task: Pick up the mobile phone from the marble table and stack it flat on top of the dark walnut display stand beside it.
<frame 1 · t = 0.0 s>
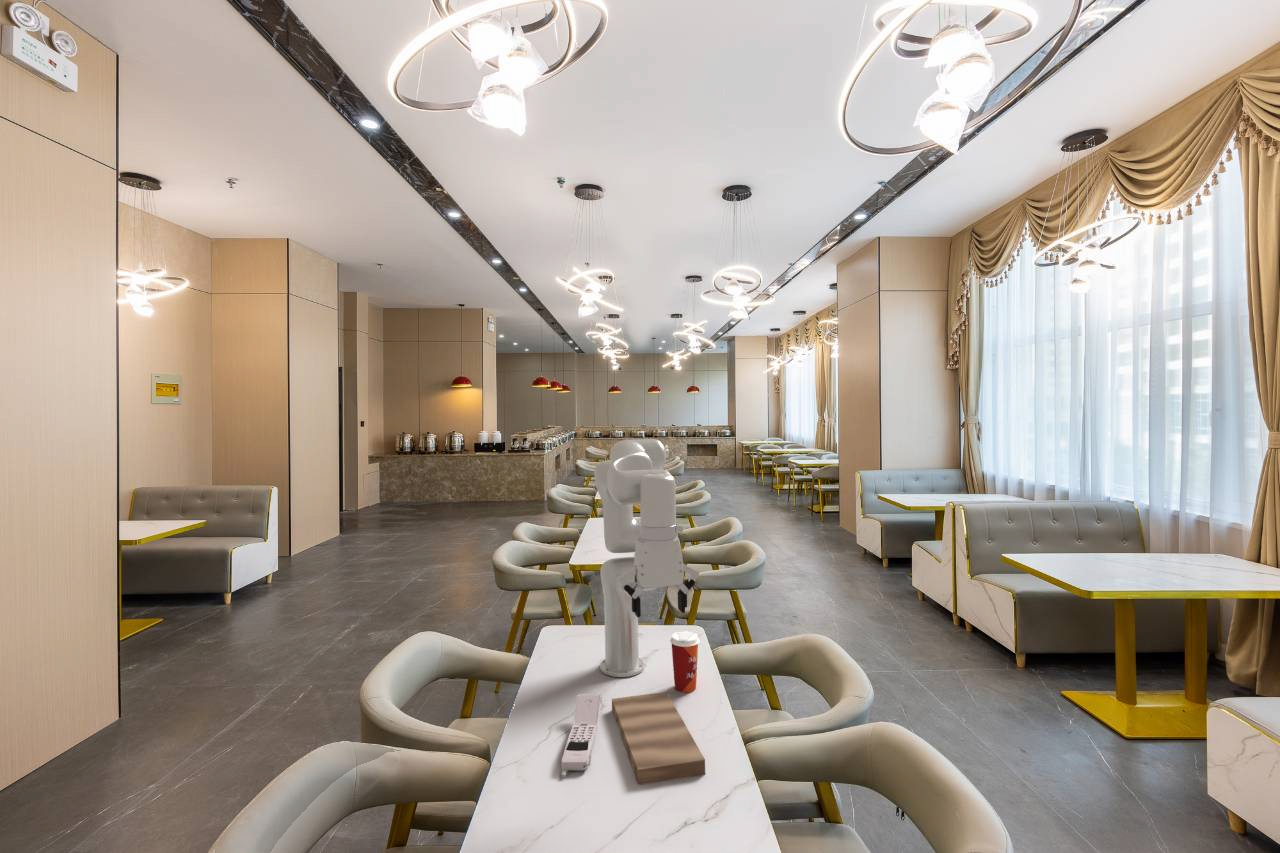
hand: (659, 613, 129), 31 cm above the table, tool pointing down, fingers open, 9 cm apart
paper cup: (685, 688, 162), on the table
walnut stand: (654, 739, 137), on the table
mobile phone: (582, 746, 136), on the table
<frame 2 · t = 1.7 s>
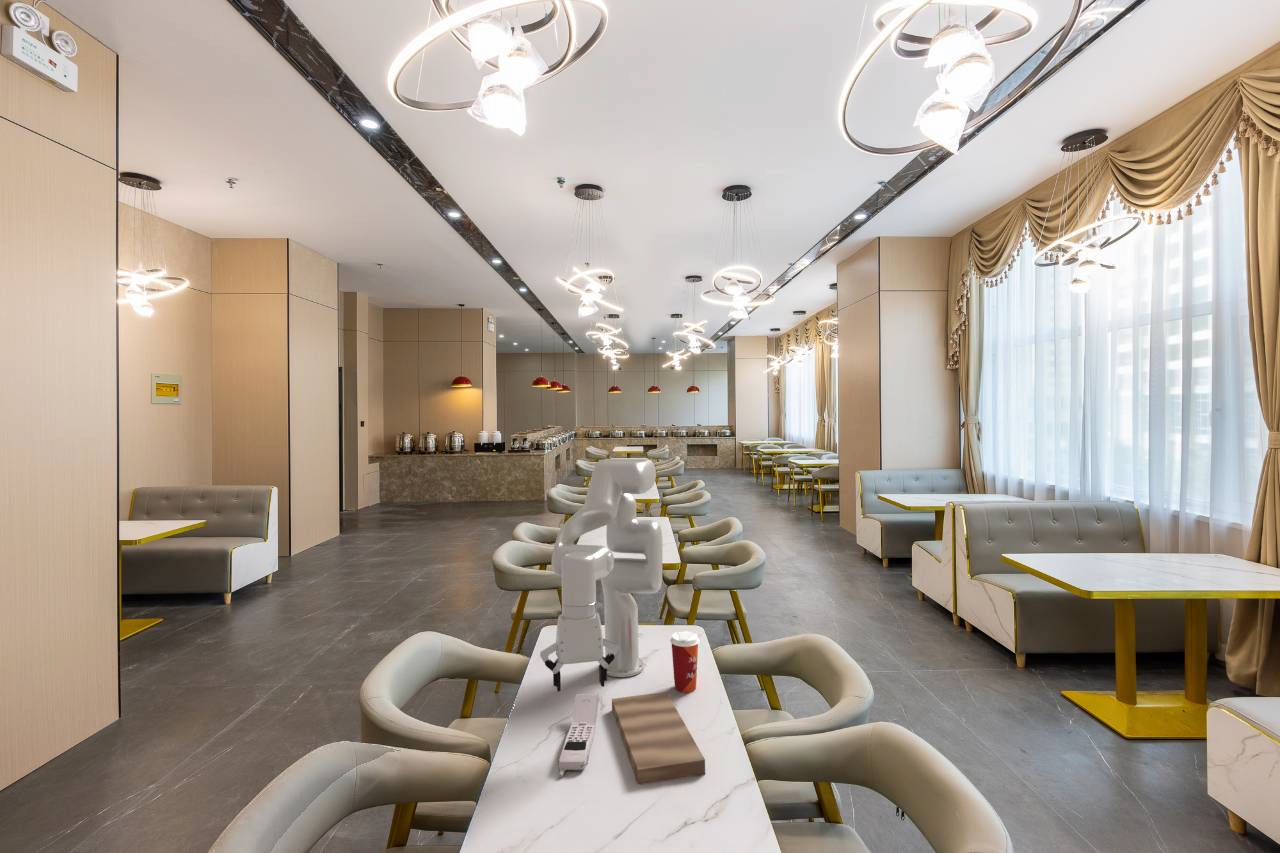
hand: (580, 686, 135), 13 cm above the table, tool pointing down, fingers open, 9 cm apart
nothing on the table moved.
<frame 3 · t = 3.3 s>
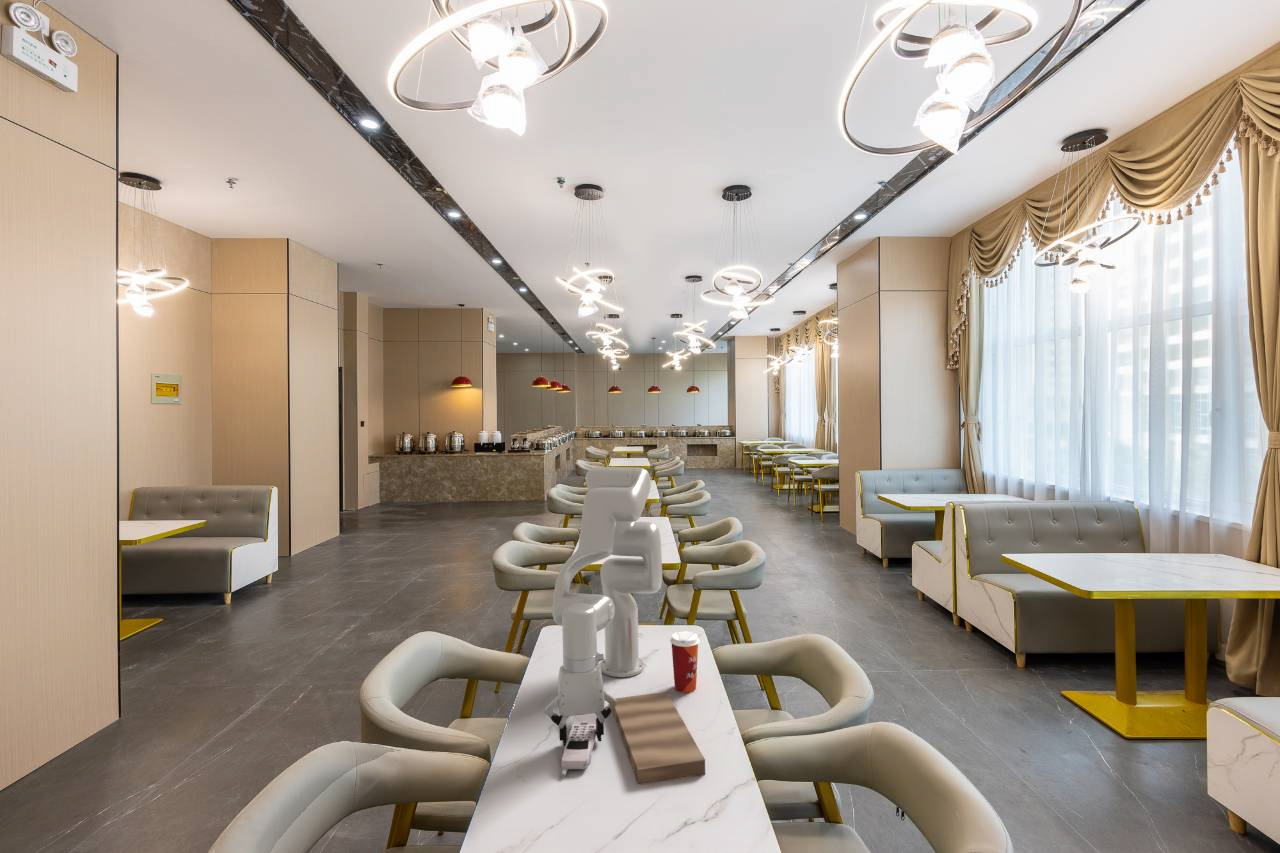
hand: (581, 739, 136), 1 cm above the table, tool pointing down, fingers closed on mobile phone, 7 cm apart
mobile phone: (582, 745, 136), on the table, touching gripper
everything else where it was.
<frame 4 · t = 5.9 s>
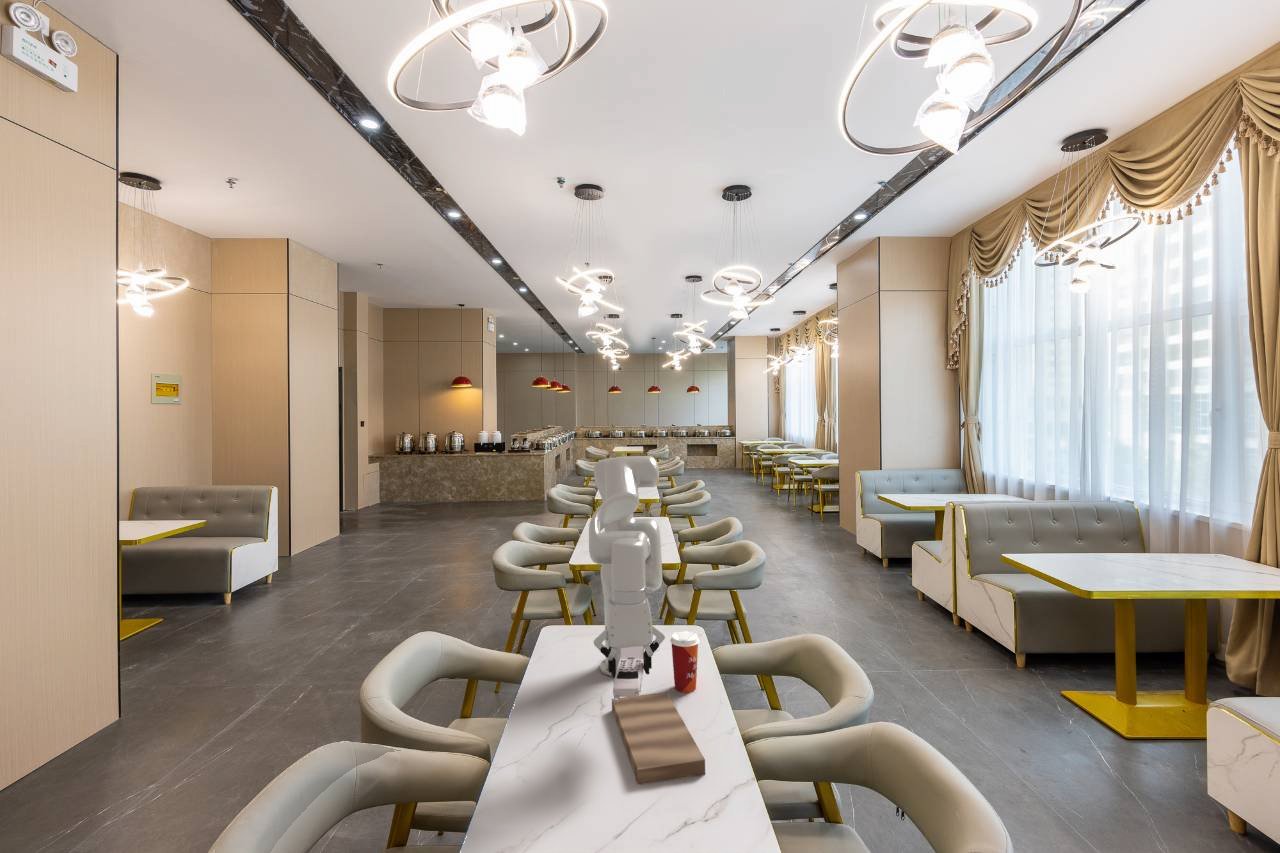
hand: (630, 672, 136), 15 cm above the table, tool pointing down, fingers closed on mobile phone, 6 cm apart
mobile phone: (630, 678, 137), point 14 cm above the table, touching gripper
everything else where it was.
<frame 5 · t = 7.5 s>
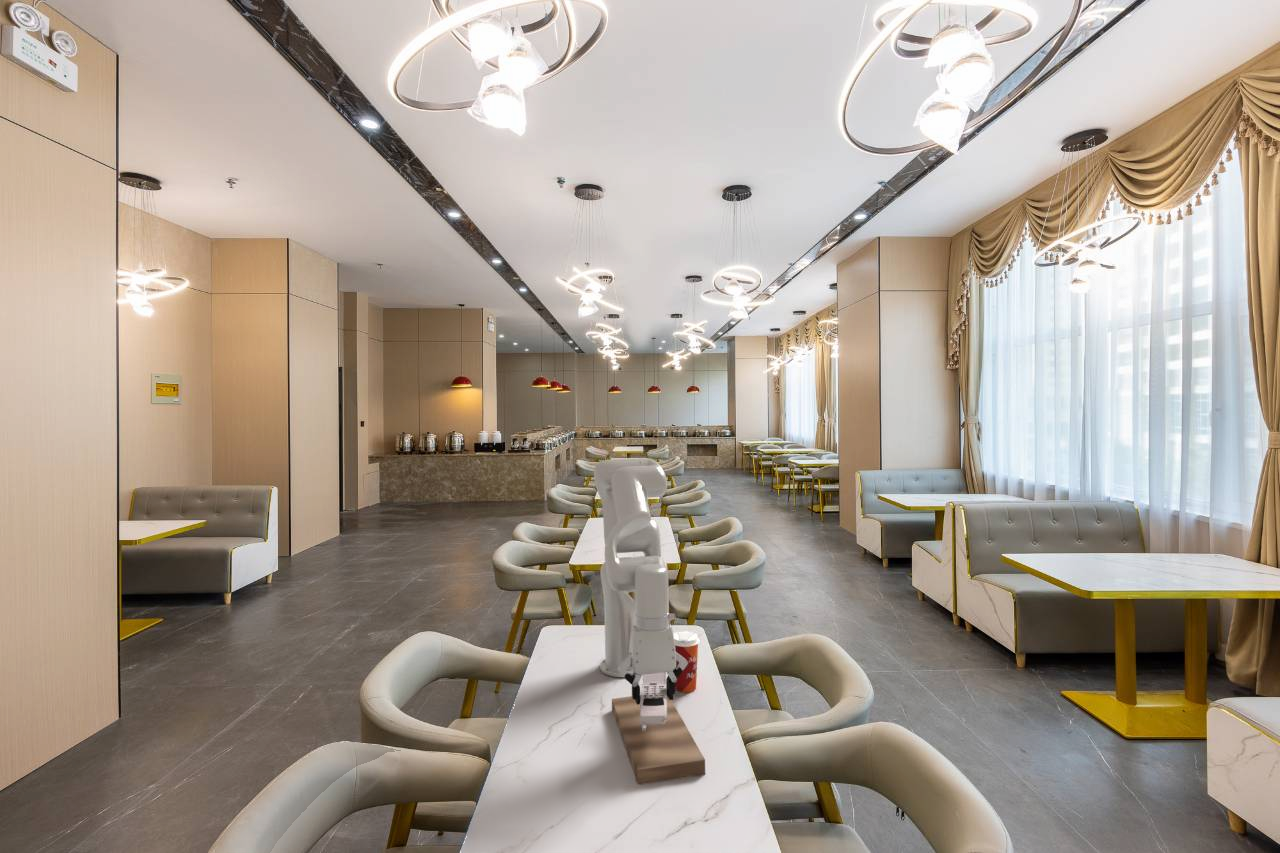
hand: (653, 698, 137), 9 cm above the table, tool pointing down, fingers closed on mobile phone, 6 cm apart
mobile phone: (653, 704, 137), point 8 cm above the table, touching gripper
everything else where it was.
when the fingers open (5 cm above the table, at t = 8.8 s): mobile phone drops 1 cm, resting on walnut stand.
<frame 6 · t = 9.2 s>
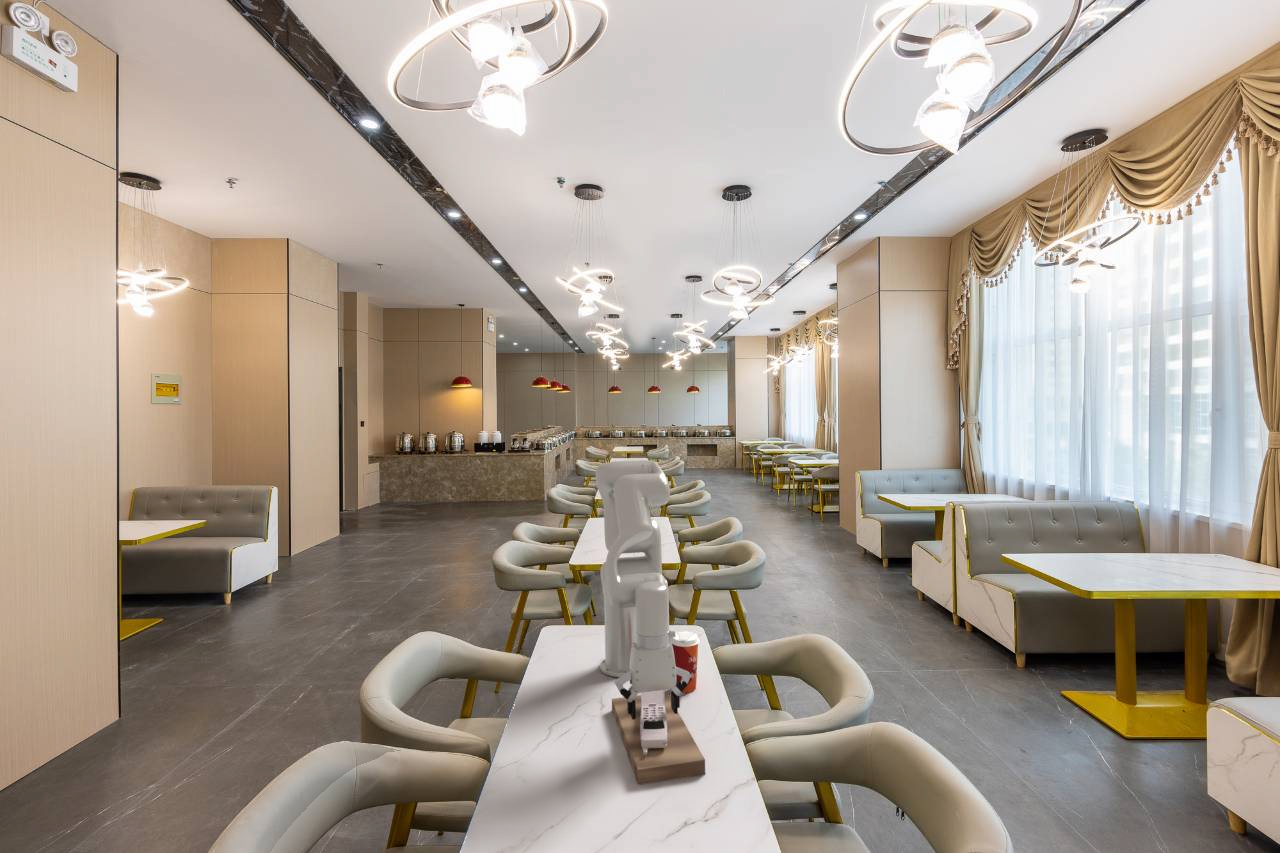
hand: (653, 713, 137), 6 cm above the table, tool pointing down, fingers open, 9 cm apart
mobile phone: (653, 726, 138), point 3 cm above the table, touching walnut stand
everything else where it was.
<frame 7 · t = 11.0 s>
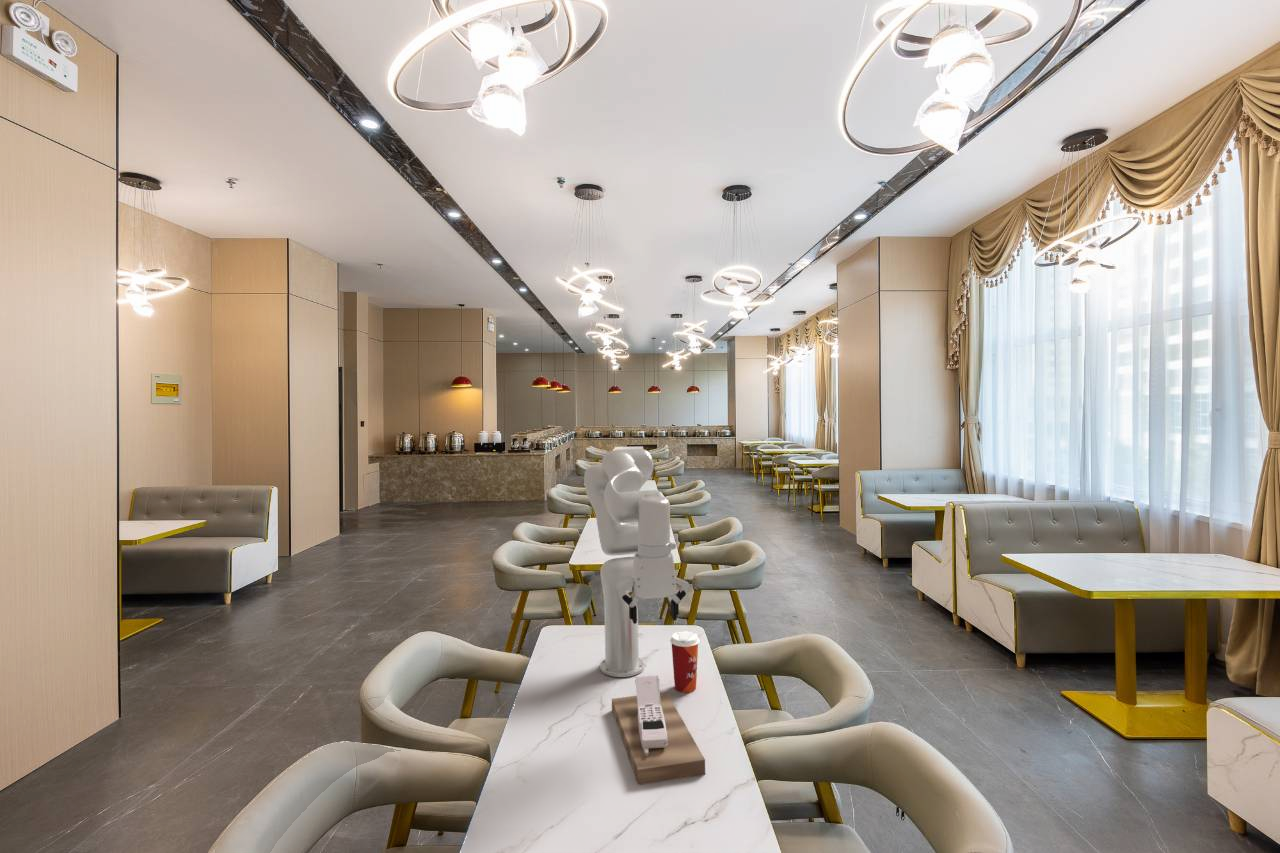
hand: (653, 619, 145), 24 cm above the table, tool pointing down, fingers open, 9 cm apart
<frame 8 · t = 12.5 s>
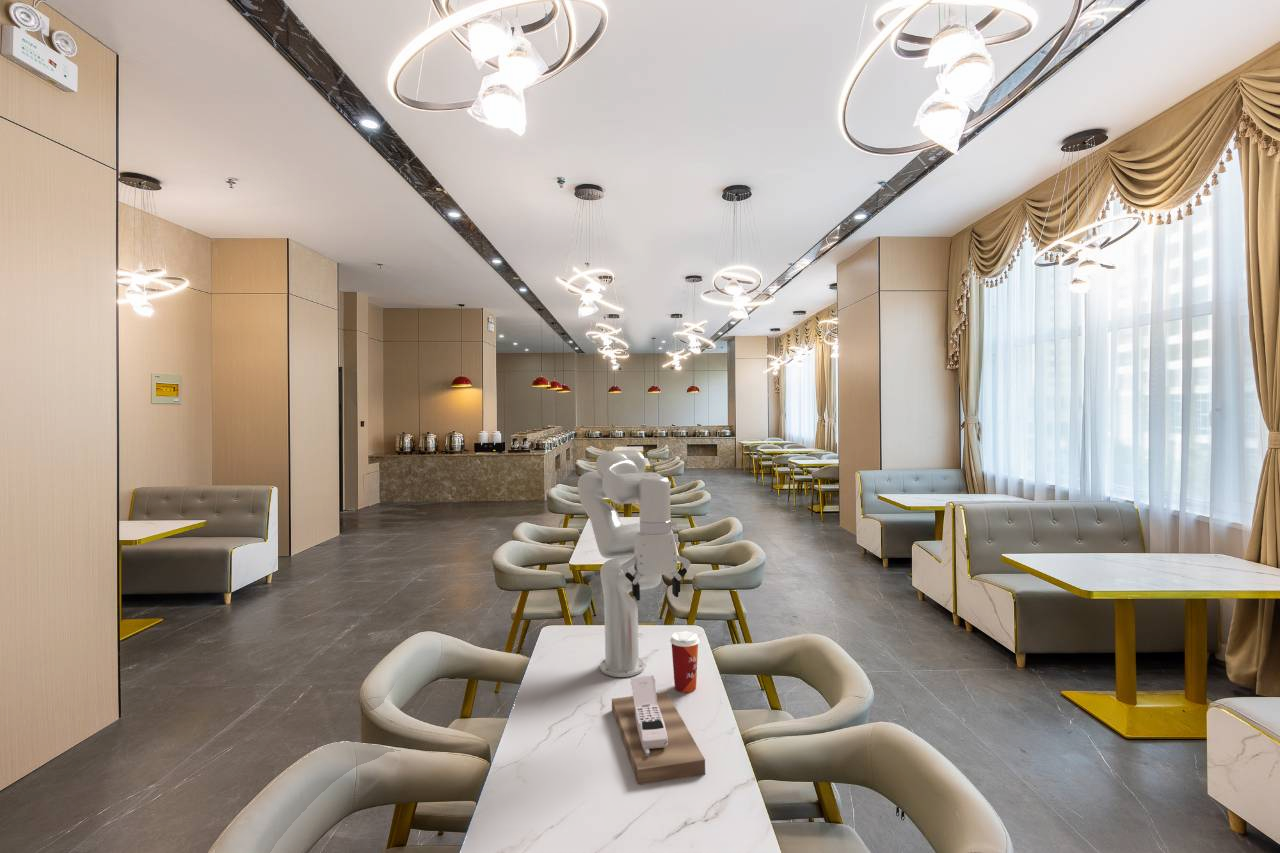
hand: (656, 597, 149), 28 cm above the table, tool pointing down, fingers open, 9 cm apart
at the end: mobile phone inside the target area (1.3 cm from its centre), point 2.8 cm above the table; mobile phone touching walnut stand; mobile phone tilted 0° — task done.
